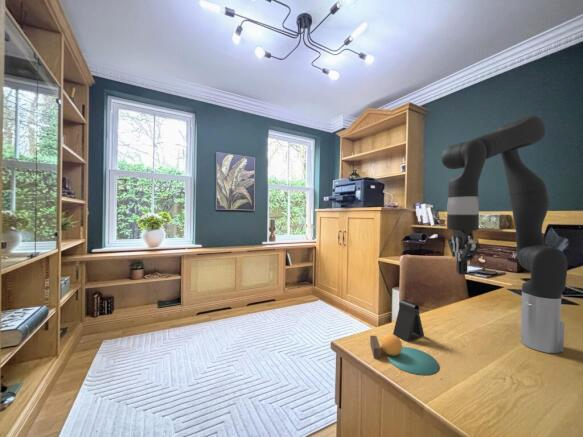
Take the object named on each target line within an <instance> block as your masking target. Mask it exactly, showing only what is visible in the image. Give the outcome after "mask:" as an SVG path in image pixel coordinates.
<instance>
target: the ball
mask: <svg viewBox="0 0 583 437" xmlns="http://www.w3.org/2000/svg"><path fill="white" fill-rule="evenodd" d="M380 342H381V344H380V346H381V348H382V350H383V351H384V353H385V354H386V355H387V354H388V355H391V356H396V355H398V354H399V353H400V352H401V350H402V347H403V343H402V341H401V338H399V337H397V336H395V335H393V333H388V334H385V335H384V336H383V337H382V339H381V341H380Z"/></svg>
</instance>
